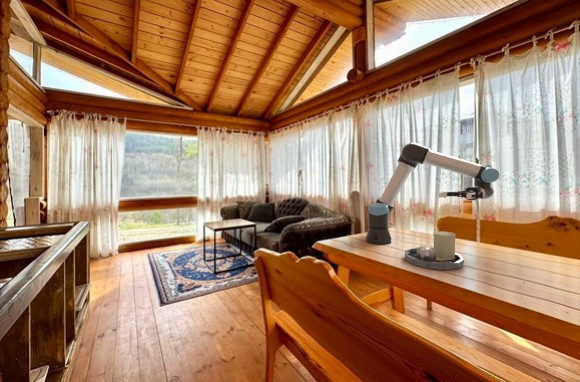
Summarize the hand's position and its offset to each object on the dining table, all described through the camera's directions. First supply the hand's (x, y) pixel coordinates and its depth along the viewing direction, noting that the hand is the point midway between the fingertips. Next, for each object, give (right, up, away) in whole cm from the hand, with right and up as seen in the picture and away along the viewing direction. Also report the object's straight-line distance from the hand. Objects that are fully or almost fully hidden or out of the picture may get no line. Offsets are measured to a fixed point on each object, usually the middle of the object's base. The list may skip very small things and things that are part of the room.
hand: (452, 195), depth 133 cm
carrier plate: (-16, -31, -9) cm, 36 cm away
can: (-9, -30, -8) cm, 32 cm away
